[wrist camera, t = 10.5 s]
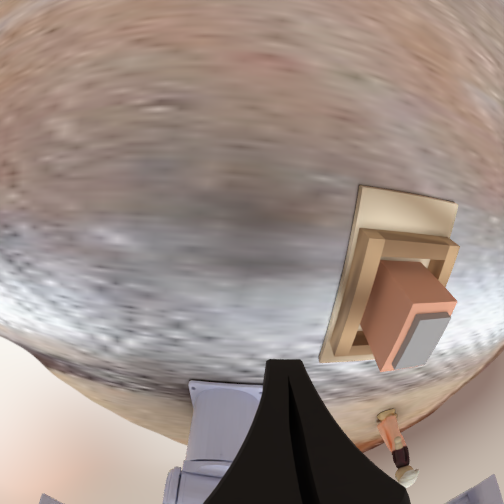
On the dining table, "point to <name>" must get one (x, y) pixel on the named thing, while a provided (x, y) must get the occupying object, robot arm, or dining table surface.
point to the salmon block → (405, 314)
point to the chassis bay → (386, 258)
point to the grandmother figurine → (397, 447)
